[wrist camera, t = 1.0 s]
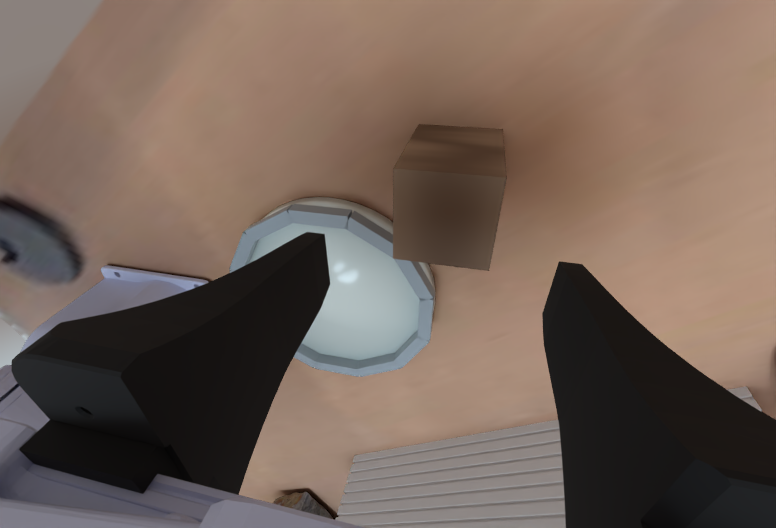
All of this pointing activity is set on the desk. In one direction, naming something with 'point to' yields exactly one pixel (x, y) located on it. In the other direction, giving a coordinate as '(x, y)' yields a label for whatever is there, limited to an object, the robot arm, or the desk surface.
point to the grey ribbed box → (466, 481)
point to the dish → (353, 286)
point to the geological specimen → (303, 504)
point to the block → (449, 196)
